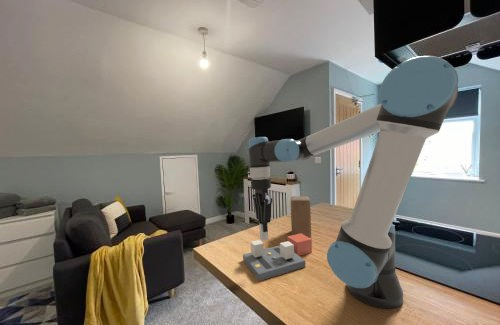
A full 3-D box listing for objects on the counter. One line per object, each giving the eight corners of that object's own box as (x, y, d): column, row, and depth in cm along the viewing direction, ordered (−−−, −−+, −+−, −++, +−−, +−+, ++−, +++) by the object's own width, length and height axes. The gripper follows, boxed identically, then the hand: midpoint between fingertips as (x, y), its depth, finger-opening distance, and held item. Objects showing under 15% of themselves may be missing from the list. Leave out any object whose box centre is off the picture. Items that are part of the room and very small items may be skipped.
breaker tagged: (263, 255, 85) (263, 243, 85) (255, 257, 84) (254, 245, 83) (259, 251, 89) (259, 239, 89) (251, 253, 87) (250, 241, 87)
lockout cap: (311, 252, 92) (311, 239, 92) (297, 256, 89) (297, 242, 89) (301, 245, 99) (301, 233, 99) (287, 249, 96) (287, 236, 96)
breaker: (294, 257, 82) (293, 244, 82) (285, 259, 81) (285, 247, 81) (288, 252, 86) (288, 241, 86) (280, 255, 85) (279, 243, 84)
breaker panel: (305, 266, 81) (305, 259, 81) (259, 281, 73) (258, 273, 73) (283, 249, 96) (283, 243, 96) (243, 260, 88) (242, 253, 88)
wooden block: (311, 238, 107) (310, 200, 106) (291, 237, 109) (290, 200, 108) (310, 231, 117) (308, 195, 116) (291, 230, 119) (290, 196, 118)
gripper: (277, 178, 74) (281, 243, 75) (261, 176, 86) (265, 232, 87) (258, 180, 72) (263, 247, 72) (245, 177, 84) (249, 235, 84)
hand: (264, 239), depth 80 cm, fingers closed
